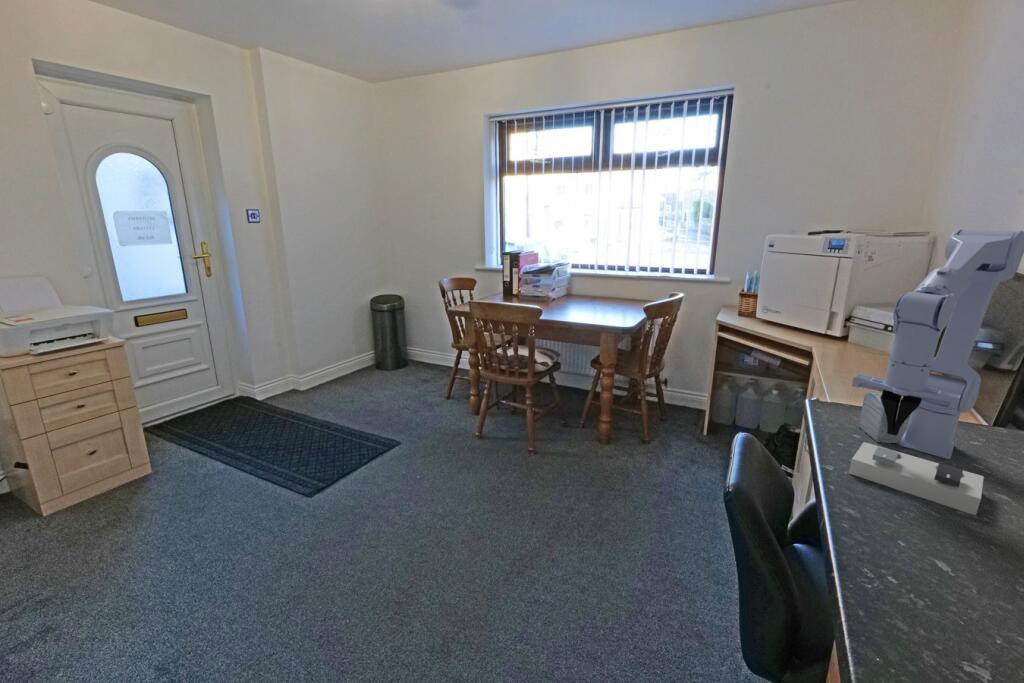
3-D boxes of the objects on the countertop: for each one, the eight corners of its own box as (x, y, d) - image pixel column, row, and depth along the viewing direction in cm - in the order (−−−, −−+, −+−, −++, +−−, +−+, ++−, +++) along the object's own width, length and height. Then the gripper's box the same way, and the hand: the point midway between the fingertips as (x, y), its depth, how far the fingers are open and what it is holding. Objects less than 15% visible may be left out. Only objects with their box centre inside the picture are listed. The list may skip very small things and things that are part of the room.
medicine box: (899, 445, 97) (909, 406, 95) (875, 442, 98) (884, 404, 96) (878, 429, 105) (887, 393, 103) (856, 427, 106) (864, 391, 104)
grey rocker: (876, 451, 86) (878, 446, 86) (897, 457, 84) (898, 452, 84) (872, 459, 84) (873, 454, 83) (893, 465, 82) (894, 460, 81)
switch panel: (860, 455, 93) (863, 441, 92) (978, 491, 81) (984, 475, 80) (848, 473, 86) (852, 457, 85) (975, 515, 74) (981, 497, 73)
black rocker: (937, 467, 80) (939, 462, 80) (961, 474, 78) (963, 469, 78) (934, 479, 78) (935, 474, 78) (958, 487, 76) (960, 481, 75)
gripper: (854, 357, 83) (839, 426, 87) (965, 377, 73) (944, 455, 76) (863, 349, 88) (848, 415, 91) (968, 367, 78) (948, 441, 81)
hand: (892, 433), depth 84 cm, fingers closed
